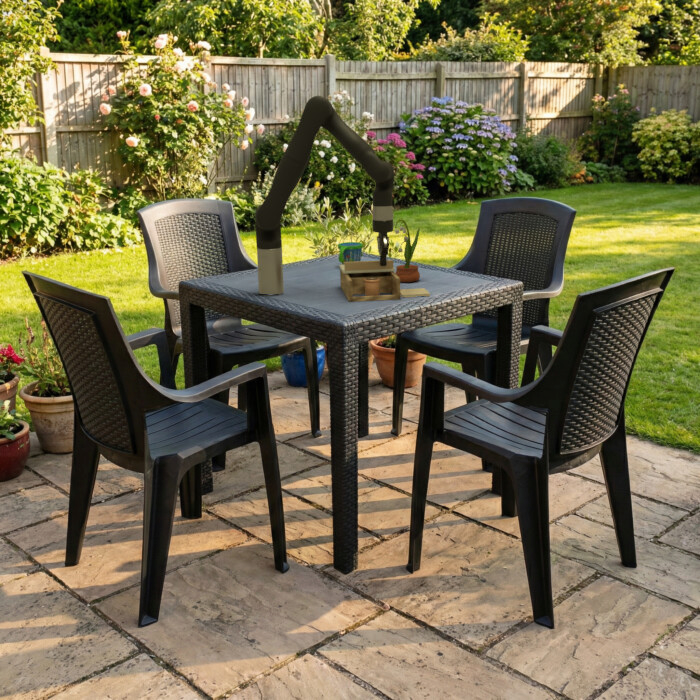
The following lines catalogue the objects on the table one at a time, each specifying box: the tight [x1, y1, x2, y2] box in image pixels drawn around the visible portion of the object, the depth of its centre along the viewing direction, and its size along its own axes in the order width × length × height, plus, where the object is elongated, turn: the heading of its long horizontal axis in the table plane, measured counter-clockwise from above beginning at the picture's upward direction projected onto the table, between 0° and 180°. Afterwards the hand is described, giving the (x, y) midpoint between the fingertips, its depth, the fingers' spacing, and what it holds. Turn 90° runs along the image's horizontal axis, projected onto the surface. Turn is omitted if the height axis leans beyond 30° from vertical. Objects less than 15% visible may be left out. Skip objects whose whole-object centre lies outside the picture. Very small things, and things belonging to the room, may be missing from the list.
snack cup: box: [337, 241, 364, 265], centre depth 377 cm, size 16×10×10 cm
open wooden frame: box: [339, 268, 401, 303], centre depth 324 cm, size 18×28×8 cm, turn 7°
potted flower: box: [393, 217, 421, 283], centre depth 342 cm, size 12×10×25 cm
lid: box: [338, 259, 396, 274], centre depth 328 cm, size 19×13×4 cm
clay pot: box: [364, 277, 380, 296], centre depth 317 cm, size 6×6×7 cm
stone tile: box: [400, 287, 431, 298], centre depth 321 cm, size 10×10×1 cm
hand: (383, 265), depth 320 cm, fingers closed
